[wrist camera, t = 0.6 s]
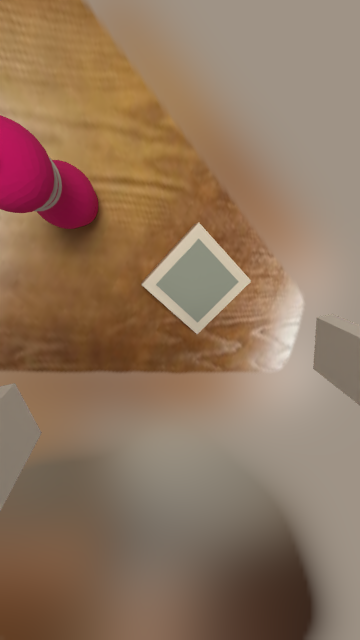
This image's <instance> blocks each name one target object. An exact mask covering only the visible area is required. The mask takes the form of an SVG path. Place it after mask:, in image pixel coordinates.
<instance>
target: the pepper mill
mask: <svg viewBox="0 0 360 640" xmlns="http://www.w3.org/2000/svg"><path fill="white" fill-rule="evenodd" d="M0 209H2V210H5V211H8V212H14V213H27V212H32V211H37V212H38V213H39V214H40V215H41V217H42V218H44V219H45V220H46V221H48V222H49V223H51V224H53V225H55V226H58V227H61V228H65V229H74V228H78V227H81V226H85V225H87V224H89V223H91V222H92V221H93V220H94V219H95V217H96V215H97V212H98V199H97V196H96V193H95V191H94V190H93V187H92V185H91V183H90V181H89V180H88V178H87V177H86V176H85V175H84V174H83V173H82V172H81V171H80V170H79V169H77V168H76V167H74V166H73V165H71V164H69V163H67V162H63V161H59V160H51V159H50V158H49V157H48V155H47V153H46V151H45V149H44V148H43V146H42V145H41V144H40V143H39V141H38V140H37V139H36V138H35V137H34V136H33V135H32V134H31V133H30V132H29V131H28V130H26V129H25V128H24V127H22V126H21V125H20V124H18V123H16V122H14V121H13V120H11V119H8V118H6V117H3V116H1V115H0Z"/></svg>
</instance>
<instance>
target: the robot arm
mask: <svg viewBox="0 0 360 640" xmlns="http://www.w3.org/2000/svg"><path fill="white" fill-rule="evenodd" d="M313 369H314V370H316V371H317V372H318V373H319V374H321V375H322V376H323V377H325V378H326V379H327V380H328V381H330V382H331V383H332V384H333V385H335V386H336V387H337V388H338V389H340V390H341V391H342V392H343V393H345V394H346V395H347V396H349V397H350V398H351V399H352V400H354V401H355V402H356V403H357V404H359V405H360V325H358V324H356V323H353V322H351V321H348V320H346V319H344V318H341V317H339V316H336V315H334V314H330V315H325V316H321V317H317V321H316V336H315V352H314V367H313ZM40 435H41V431H40V429H39V427H38V426H37V423H36V422H35V420H34V418H33V416H32V414H31V413H30V410H29V409H28V407H27V405H26V403H25V401H24V399H23V397H22V395H21V393H20V392H19V390H18V388H17V386H16V384H15V383H14V384H9V385H4V386H0V511H1V508H2V507H3V505H4V503H5V501H6V499H7V497H8V496H9V494H10V492H11V490H12V488H13V486H14V484H15V482H16V480H17V478H18V476H19V474H20V473H21V471H22V469H23V467H24V465H25V463H26V461H27V460H28V458H29V455H30V454H31V452H32V450H33V448H34V446H35V444H36V442H37V440H38V439H39V437H40Z"/></svg>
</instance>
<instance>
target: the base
mask: <svg viewBox="0 0 360 640" xmlns="http://www.w3.org/2000/svg"><path fill="white" fill-rule="evenodd" d="M250 282H251V280H250V279H249V278H248V277H247V276H246V275H245V274H244V272H243V271H242V270H241V269H240V268H239V267H238V266H237V265H236V264H235V262H234V261H233V260H232V259H231V258H230V257H229V256H228V255H227V253H226V252H225V251H224V250H223V249H222V248H221V247H220V246H219V244H218V243H217V242H216V241H215V240H214V239H213V238H212V237H211V236H210V234H209V233H208V232H207V231H206V230H205V229H204V228H203V227H202V225H201V224H200V223H199V222H198V223H196V224H194V225H193V226H192V228H191V229H190V230H189V231H188V232H187V233H186V234H185V235H184V236H183V237H182V239H181V240H180V241H179V242H178V243H177V244H176V245H175V246H174V247H173V248H172V249H171V251H170V252H169V253H168V254H167V255H166V256H165V257H164V258H163V259H162V260H161V262H160V263H159V264H158V265H157V266H156V267H155V268H154V269H153V270H152V271H151V272H150V274H149V275H148V276H147V277H146V278H145V279H144V280H143V281H142V286H143V287H145V288H146V289H147V290H148V291H149V292H150V293H151V294H152V295H154V296H155V297H156V298H157V299H158V300H159V301H160V302H161V303H163V304H164V305H165V306H166V307H167V308H168V309H169V310H170V311H172V312H173V313H174V314H175V315H176V316H177V317H178V318H179V319H181V320H182V321H183V322H184V323H185V324H186V325H187V326H188V327H190V328H191V329H192V330H193V331H194V332H195V333H196V334H198V333H199V332H200V331H201V330H202V329H203V328H204V327H205V326H206V325H207V324H208V323H209V322H210V321H211V320H212V319H213V318H214V317H215V316H216V315H217V314H218V313H219V312H220V311H221V310H222V309H223V308H224V307H225V306H226V305H227V304H228V303H230V302H231V301H232V300H233V299H234V298H235V297H236V296H237V295H238V294H239V293H240V292H241V291H242V290H243V289H244V288H245V287H246V286H247V285H248V284H249V283H250Z"/></svg>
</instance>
